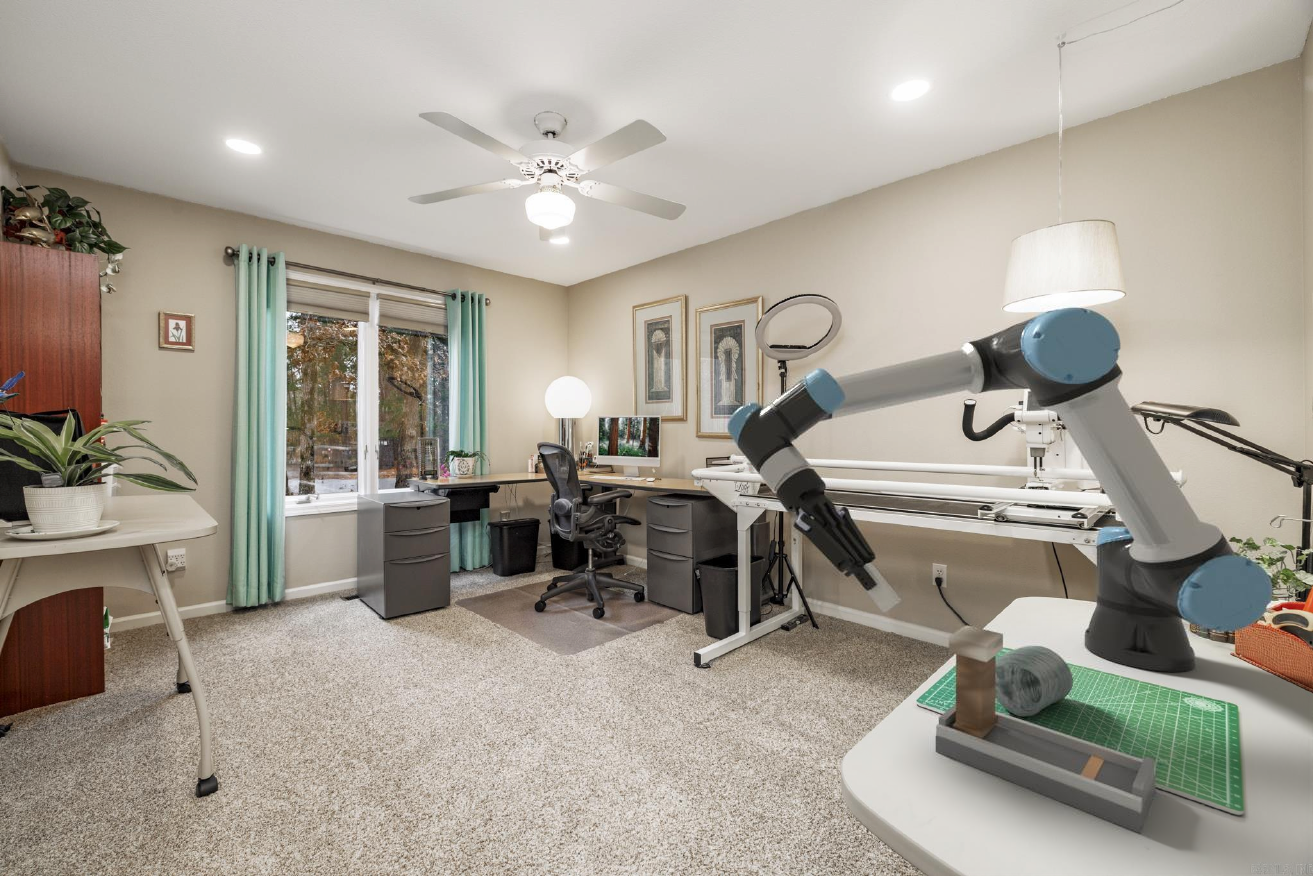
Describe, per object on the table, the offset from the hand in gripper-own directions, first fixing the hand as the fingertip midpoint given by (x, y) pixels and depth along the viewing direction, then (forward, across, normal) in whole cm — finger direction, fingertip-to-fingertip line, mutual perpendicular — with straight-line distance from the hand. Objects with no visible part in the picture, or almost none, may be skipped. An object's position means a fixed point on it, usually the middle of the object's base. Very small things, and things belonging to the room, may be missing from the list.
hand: (892, 606), depth 81 cm
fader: (+17, 0, -2) cm, 17 cm away
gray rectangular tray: (+24, 0, +2) cm, 24 cm away
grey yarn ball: (+20, -18, -2) cm, 27 cm away
